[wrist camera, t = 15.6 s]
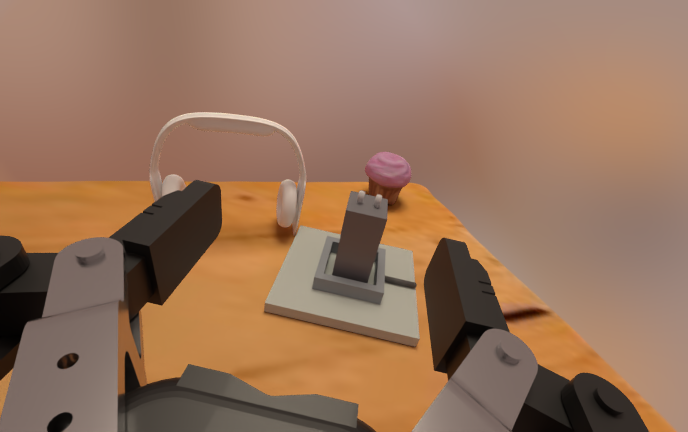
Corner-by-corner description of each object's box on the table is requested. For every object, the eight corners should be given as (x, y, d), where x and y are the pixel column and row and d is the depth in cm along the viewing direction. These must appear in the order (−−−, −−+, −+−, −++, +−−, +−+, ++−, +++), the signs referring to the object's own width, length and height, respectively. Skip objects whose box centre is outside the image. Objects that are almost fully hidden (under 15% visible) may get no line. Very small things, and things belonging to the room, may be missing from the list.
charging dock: (264, 311, 36) (265, 290, 34) (299, 233, 49) (301, 215, 48) (415, 346, 36) (425, 327, 34) (409, 258, 49) (416, 241, 47)
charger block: (330, 281, 40) (348, 199, 33) (336, 258, 44) (353, 180, 37) (365, 289, 40) (390, 208, 33) (368, 265, 44) (390, 189, 37)
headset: (297, 218, 53) (309, 114, 43) (303, 244, 47) (318, 132, 38) (165, 218, 47) (144, 97, 37) (154, 249, 41) (127, 115, 31)
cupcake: (367, 211, 59) (379, 163, 53) (353, 188, 65) (363, 144, 60) (408, 211, 61) (424, 165, 56) (391, 189, 68) (404, 146, 63)
